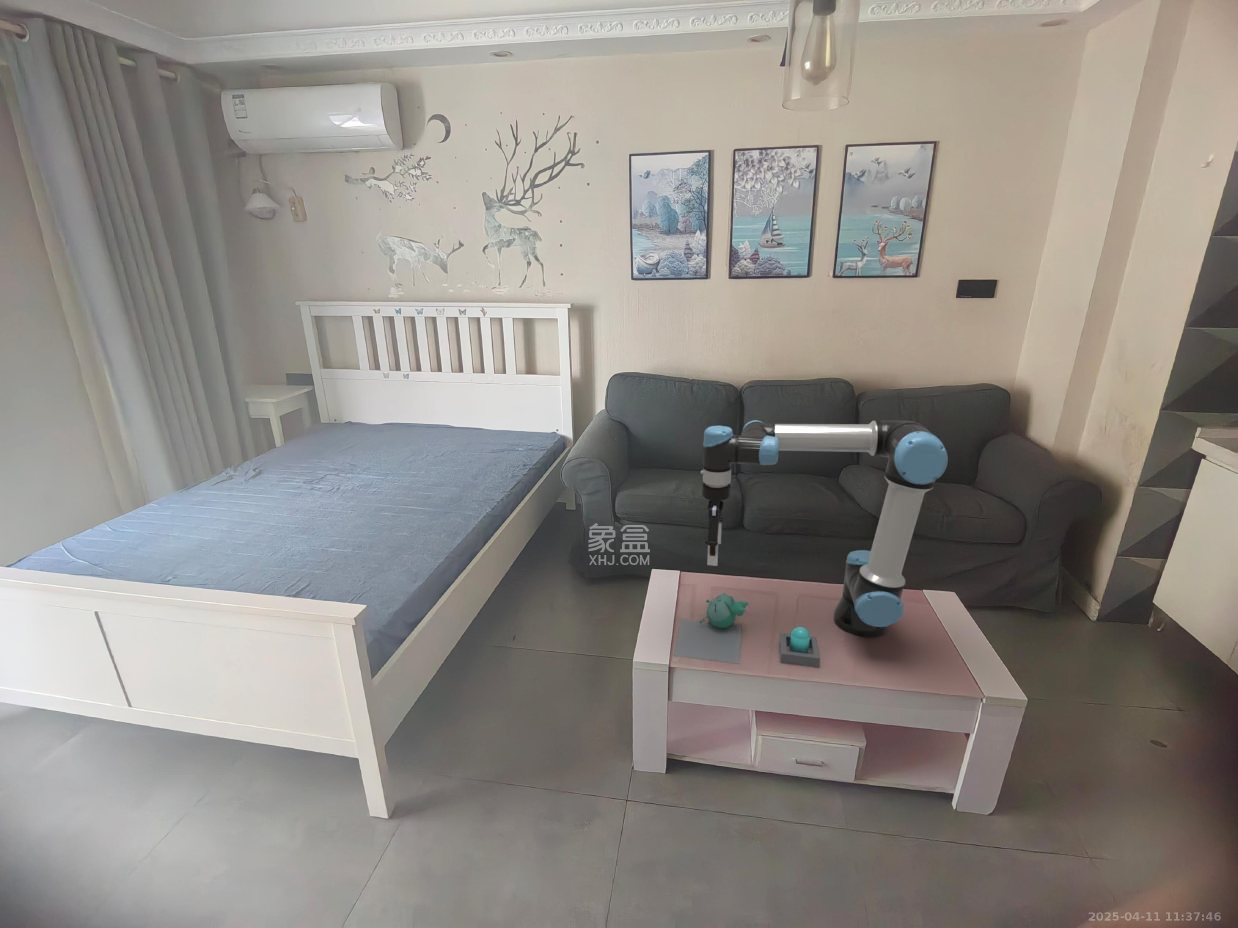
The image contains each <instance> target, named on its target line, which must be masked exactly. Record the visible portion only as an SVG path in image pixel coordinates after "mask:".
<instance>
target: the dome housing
mask: <svg viewBox="0 0 1238 928" xmlns="http://www.w3.org/2000/svg"><path fill="white" fill-rule="evenodd" d="M790 640H791V633H785V632H779V654H780V656H779V658H780V663H781V664H787V665H793V666H794V665H796V666H801V667H802V666H803V667H809V668H810V667H813V668H819V667H820V662H821V661H820V660H821V658H820V657H821V656H820V650H819V643H818V637H817V636H811V635H810V641H809V649H810V653H807V654H806V653H798V652H791V651H788V648H787V647H788V646H789V647H790Z"/></svg>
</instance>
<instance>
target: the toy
mask: <svg viewBox="0 0 1238 928" xmlns="http://www.w3.org/2000/svg"><path fill="white" fill-rule="evenodd" d="M705 601H706V603H708V605H707V607H705V608H704V610H703V612H702V614H701V616H703V615H704V612H705V611H706V616H705V617H704V618H703V619H699V621H698V622H700V623H702V622H704V621H705V619H708V621H709V623H712V624H713V625H714V626H716V627H718V628H727V627H729V626H732V625H733V624H734V623H735V620H736V618H737V616H738V617H742V616H743V615H744V613H745V612H747V611H746V607H747V606H748V605H749V603H748V601H742V600H738V601H735V599H734V597H733V596H731V595H729V594H727V593H721V594H719V595H718V596H716V597H714V598H713V599H712V600H711V601H710V599H706V600H705ZM706 608H707V609H706Z"/></svg>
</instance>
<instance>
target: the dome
mask: <svg viewBox="0 0 1238 928" xmlns="http://www.w3.org/2000/svg"><path fill="white" fill-rule="evenodd" d="M790 634H791V640H790V646H789V650H790V651H789V652H798V653H806V654H809V649H810V648H809V641H810V636H811V635H810V632H809V631H808V630H807V629H806V628H805V627H802V626H798V627H795V628H793V630H791V632H790Z"/></svg>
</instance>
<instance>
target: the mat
mask: <svg viewBox="0 0 1238 928" xmlns="http://www.w3.org/2000/svg"><path fill="white" fill-rule="evenodd" d="M741 637H742V626H738V625H730V626H729V627H727V628H718V627H716V626H714V625H713V624H712V623H711V622H704V621H702V623H700V622H699V621H693V620H685V619H684V620H683V619H681V620H680V625H679V629H678V634H677V639H676V642H675V647H674V652H673V656H674V657H681V658H687V659H696V660H703V661H710V662H711V661H713V662H719V663H726V664H727V663H728V664H735V665H740V659H741V658H740V655H741V639H742V638H741Z"/></svg>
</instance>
